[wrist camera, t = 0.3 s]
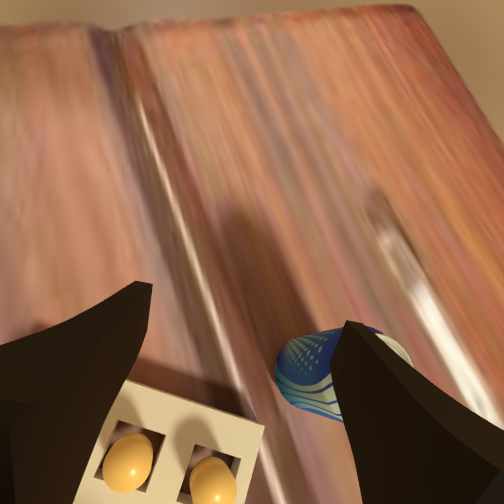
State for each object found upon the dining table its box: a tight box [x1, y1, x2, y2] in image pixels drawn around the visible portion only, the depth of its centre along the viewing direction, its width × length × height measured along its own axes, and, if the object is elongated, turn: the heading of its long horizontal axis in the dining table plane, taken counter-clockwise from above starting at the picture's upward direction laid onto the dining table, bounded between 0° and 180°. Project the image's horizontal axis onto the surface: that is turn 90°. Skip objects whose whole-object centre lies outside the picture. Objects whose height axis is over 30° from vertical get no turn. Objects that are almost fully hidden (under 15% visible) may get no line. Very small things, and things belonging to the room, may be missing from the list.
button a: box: [189, 457, 237, 504], centre depth 31 cm, size 4×4×3 cm
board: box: [73, 379, 265, 504], centre depth 34 cm, size 12×24×3 cm, turn 71°
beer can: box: [275, 326, 413, 423], centre depth 34 cm, size 8×8×16 cm
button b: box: [102, 432, 153, 493], centre depth 31 cm, size 4×4×3 cm
